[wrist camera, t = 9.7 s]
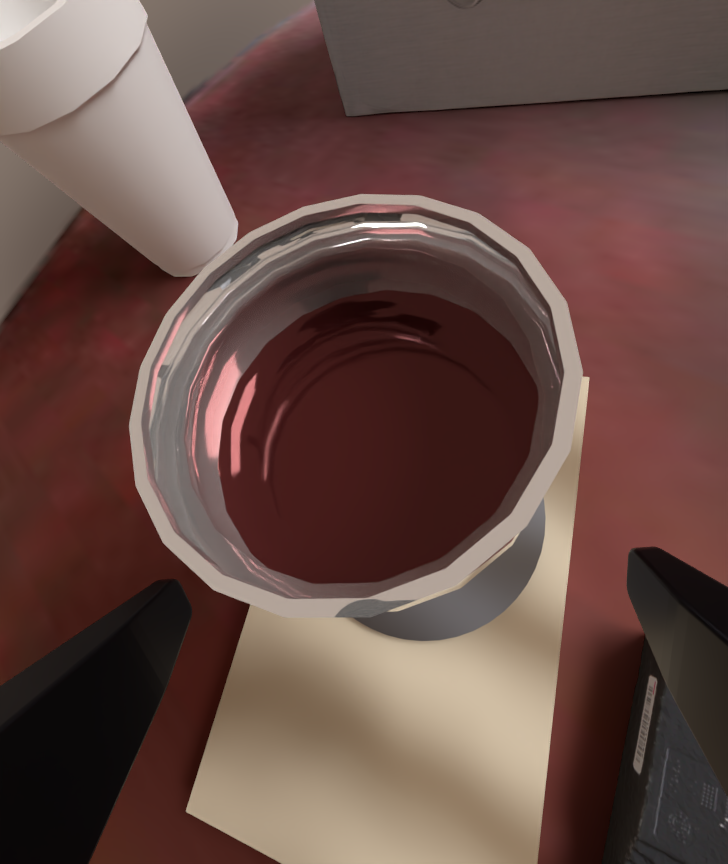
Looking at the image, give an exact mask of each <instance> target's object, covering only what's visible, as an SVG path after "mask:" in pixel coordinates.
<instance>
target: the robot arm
mask: <svg viewBox="0 0 728 864" xmlns="http://www.w3.org/2000/svg"><path fill="white" fill-rule="evenodd" d="M627 590H628V594H629V597H630V600H631V602H632V605H633V607H634V609H635V612H636V614H637V616H638V619H639V621H640V624H641V626H642V628H643V631H644V633H645V635H646V638H647V640H648V642H649V645H650V647H651V650H652V652H653V654H654V657H655V659H656V661H657V664H658V666H659V669H660V671H661V673H662V675H663V678H664V680H665V682H666V684H667V686H668V688H669V690H670V692H671V694H672V696H673V698H674V700H675V702H676V704H677V706H678V707H679V709H680V711H681V713H682V715H683V717H684V718H685V720H686V722H687V724H688V726H689V728H690V729H691V731H692V733H693V735H694V737H695V739H696V740H697V742H698V744H699V746H700V748H701V749H702V751H703V753H704V755H705V757H706V759H707V760H708V762H709V764H710V766H711V768H712V770H713V771H714V773H715V775H716V777H717V779H718V781H719V782H720V784H721V786H722V788H723V790H724V792H725V793H726V795H727V797H728V587H727V586H725V585H723V584H721V583H720V582H718V581H716V580H715V579H713V578H711V577H709V576H708V575H706V574H704V573H702V572H701V571H699V570H697V569H695V568H694V567H692V566H690V565H688V564H687V563H685V562H683V561H681V560H680V559H678V558H676V557H674V556H673V555H671V554H669V553H667V552H666V551H664V550H662V549H660V548H658V547H641V548H633V549H631V550H630V552H629V555H628V570H627ZM191 616H192V607H191V604H190V602H189V600H188V598H187V596H186V594H185V592H184V590H183V588H182V585H181V584H180V582H179V581H178V580H176V579H165V580H158V581H156V582H154V583H153V584H151V585H150V586H148V587H147V588H145V589H144V590H142V591H141V592H139V593H138V594H136V595H135V596H134V597H132V598H131V599H129V600H128V601H126V602H125V603H123V604H122V605H120V606H119V607H117V608H116V609H114V610H113V611H111V612H110V613H108V614H107V615H105V616H104V617H102V618H101V619H99V620H98V621H96V622H95V623H93V624H92V625H90V626H89V627H87V628H86V629H84V630H83V631H82V632H80V633H79V634H77V635H76V636H74V637H73V638H71V639H70V640H68V641H67V642H65V643H64V644H62V645H61V646H59V647H58V648H56V649H55V650H53V651H52V652H50V653H49V654H47V655H46V656H44V657H43V658H41V659H40V660H38V661H37V662H35V663H34V664H32V665H31V666H30V667H28V668H27V669H25V670H24V671H22V672H21V673H19V674H18V675H16V676H15V677H13V678H12V679H10V680H9V681H7V682H6V683H4V684H3V685H1V686H0V864H89V862H90V860H91V857H92V855H93V853H94V851H95V848H96V846H97V844H98V842H99V839H100V837H101V835H102V833H103V830H104V828H105V826H106V824H107V821H108V819H109V817H110V815H111V813H112V810H113V808H114V806H115V804H116V801H117V799H118V797H119V795H120V792H121V790H122V788H123V786H124V783H125V781H126V779H127V777H128V774H129V772H130V770H131V768H132V765H133V763H134V761H135V759H136V756H137V754H138V752H139V750H140V747H141V745H142V743H143V741H144V738H145V736H146V734H147V732H148V730H149V727H150V725H151V723H152V721H153V718H154V716H155V714H156V712H157V709H158V707H159V705H160V703H161V700H162V698H163V695H164V693H165V691H166V688H167V685H168V683H169V680H170V677H171V675H172V672H173V669H174V666H175V663H176V660H177V657H178V654H179V652H180V649H181V646H182V643H183V640H184V637H185V634H186V631H187V629H188V626H189V623H190V620H191Z"/></svg>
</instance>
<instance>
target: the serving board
mask: <svg viewBox="0 0 728 864" xmlns="http://www.w3.org/2000/svg"><path fill="white" fill-rule="evenodd" d="M588 386H589V377H582V382H581V388H580V394H579V400H578V407H577V413H576V419H575V426H574V432H573V438H572V445H571V451H570V452H569V454H568V456H567V458H566V459H565V461H564V463H563V465H562V466H561V468H560V470H559V471H558V473H557V475H556V477H555V478H554V480H553V482H552V484H551V485H550V487H549V489H548V490H547V492H546V494H545V496H544V497H543V499H542V501H541V503H540V504H539V506H538V508H537V509H536V511H535V513H534V515H533V516H532V518H531V520H530V522H529V523H528V525H527V527H525V528H524V529H523V530H522V531H521V532H520V533H519V535H518V537H517V538H516V540H515V542H514V543H513V545H512V546H511V547H509V548H508V549H507V550H506V551H505V552H504V553H502V554H501V555H500V556H499V557H498V558H496V559H495V560H494V561H493V562H492V563H490V564H489V565H488V566H487V567H486V568H484V569H483V570H482V571H481V572H480V573H478V574H477V575H476V576H475V577H474V578H472V579H471V580H470V581H469V582H468V583H467V584H465V585H464V586H463V587H462V588H460V589H457V590H455V591H452V592H449V593H447V594H444V595H441V596H438V597H436V598H433V599H430V600H428V601H425V602H422V603H420V604H417V605H414V606H411V607H409V608H406V609H403V610H401V611H395V612H384V613H381V614H378V615H376V616H373V617H360V618H285V617H282V616H279V615H277V614H274V613H272V612H269V611H266V610H264V609H261V608H259V607H256V606H253V605H251V604H250V607H249V611H248V614H247V617H246V620H245V623H244V627H243V630H242V633H241V636H240V639H239V643H238V646H237V649H236V652H235V655H234V658H233V662H232V665H231V668H230V671H229V674H228V678H227V681H226V684H225V687H224V690H223V694H222V697H221V700H220V703H219V706H218V710H217V713H216V716H215V719H214V722H213V726H212V729H211V732H210V735H209V738H208V742H207V745H206V748H205V751H204V754H203V758H202V761H201V764H200V767H199V770H198V774H197V777H196V780H195V783H194V786H193V790H192V793H191V796H190V799H189V802H188V805H187V809H186V812H187V813H189V814H191V815H193V816H195V817H197V818H198V819H200V820H202V821H204V822H206V823H208V824H209V825H211V826H213V827H215V828H217V829H219V830H221V831H222V832H224V833H226V834H228V835H230V836H232V837H234V838H235V839H237V840H239V841H241V842H243V843H245V844H247V845H248V846H250V847H252V848H254V849H256V850H258V851H260V852H261V853H263V854H265V855H267V856H269V857H271V858H272V859H274V860H276V861H278V862H280V863H282V864H537V860H538V850H539V841H540V832H541V823H542V813H543V804H544V795H545V785H546V776H547V767H548V758H549V748H550V739H551V730H552V720H553V711H554V702H555V693H556V683H557V674H558V665H559V655H560V646H561V637H562V628H563V618H564V609H565V600H566V590H567V581H568V572H569V563H570V553H571V544H572V535H573V525H574V516H575V507H576V498H577V488H578V479H579V470H580V460H581V451H582V442H583V433H584V423H585V414H586V405H587V396H588Z"/></svg>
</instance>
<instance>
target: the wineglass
mask: <svg viewBox="0 0 728 864" xmlns="http://www.w3.org/2000/svg"><path fill="white" fill-rule="evenodd" d="M582 375H583V370H582V366H581V361H580V357H579V353H578V348H577V344H576V340H575V335H574V331H573V327H572V322H571V318H570V314H569V309H568V305H567V302H566V300H565V299H564V298H563V296H562V295H561V293H560V292H559V290H558V289H557V288H556V286H555V285H554V283H553V282H552V280H551V279H550V277H549V276H548V275H547V273H546V272H545V270H544V269H543V267H542V266H541V265H540V263H539V262H538V260H537V259H536V257H535V256H534V255H533V253H532V252H531V250H530V249H529V248H528V247H526V246H525V245H523V244H522V243H521V242H519V241H518V240H516V239H515V238H513V237H512V236H511V235H509V234H508V233H506V232H505V231H503V230H502V229H500V228H499V227H498V226H496V225H495V224H493V223H492V222H490V221H489V220H487V219H486V218H485V217H483V216H482V215H480V214H479V213H476V212H473V211H470V210H466V209H463V208H460V207H457V206H453V205H450V204H447V203H443V202H440V201H437V200H434V199H430V198H427V197H424V196H420V195H377V194H359V195H355V196H350V197H346V198H341V199H337V200H332V201H328V202H323V203H319V204H314V205H310V206H305V207H302V208H300V209H298V210H296V211H294V212H291V213H289V214H287V215H285V216H283V217H281V218H279V219H277V220H275V221H273V222H270V223H268V224H266V225H264V226H262V227H260V228H258V229H256V230H254V231H252V232H250V233H248V234H247V235H246V236H244V237H243V238H242V239H241V240H239V241H238V242H237V243H235V244H234V245H233V246H232V247H230V248H229V249H228V250H226V251H225V252H224V253H223V254H221V255H220V256H219V257H217V258H216V259H215V260H214V261H212V262H211V263H210V264H208V265H207V266H206V267H205V268H203V270H202V271H201V272H200V273H199V274H198V276H197V277H196V278H195V279H194V280H193V282H192V283H191V284H190V285H189V287H188V288H187V289H186V290H185V291H184V293H183V294H182V295H181V296H180V297H179V299H178V300H177V301H176V302H175V304H174V305H173V306H172V307H171V308H170V310H169V311H168V312H167V313H166V315H165V317H164V319H163V321H162V323H161V325H160V327H159V329H158V331H157V333H156V336H155V338H154V340H153V342H152V344H151V346H150V348H149V350H148V352H147V354H146V356H145V358H144V360H143V362H142V364H141V366H140V371H139V376H138V381H137V387H136V392H135V397H134V402H133V407H132V412H131V418H130V423H129V430H130V439H131V448H132V457H133V466H134V476H135V485H136V488H137V490H138V492H139V494H140V496H141V498H142V500H143V502H144V504H145V506H146V508H147V511H148V513H149V515H150V517H151V519H152V521H153V523H154V525H155V527H156V529H157V531H158V533H159V535H160V538H161V540H162V542H163V544H165V545H166V546H167V547H168V548H169V549H170V550H171V551H172V552H173V553H174V554H175V555H176V556H177V557H179V558H180V559H181V560H182V561H183V562H184V563H185V564H186V565H187V566H188V567H189V568H190V569H191V570H192V571H194V572H195V573H196V574H197V575H198V576H199V577H200V578H201V579H202V580H203V581H204V582H205V583H206V584H208V585H209V586H210V587H211V588H212V589H213V590H214V591H217V592H220V593H222V594H225V595H227V596H230V597H233V598H235V599H238V600H240V601H243V602H246V603H248V604H251V605H253V606H256V607H259V608H261V609H264V610H266V611H269V612H272V613H274V614H277V615H279V616H282V617H285V618H360V617H373V616H376V615H378V614H381V613H384V612H395V611H401V610H403V609H406V608H409V607H411V606H414V605H417V604H420V603H422V602H425V601H428V600H430V599H433V598H436V597H438V596H441V595H444V594H447V593H449V592H452V591H455V590H457V589H460V588H462V587H463V586H464V585H465V584H467V583H468V582H469V581H470V580H471V579H472V578H474V577H475V576H476V575H477V574H478V573H480V572H481V571H482V570H483V569H484V568H486V567H487V566H488V565H489V564H490V563H492V562H493V561H494V560H495V559H496V558H498V557H499V556H500V555H501V554H502V553H504V552H505V551H506V550H507V549H508V548H509V547H511V546H512V545H513V543H514V542H515V540H516V538H517V537H518V535H519V533H520V532H521V531H522V530H523V529H524V528H525V527H527V525H528V523H529V522H530V520H531V518H532V516H533V515H534V513H535V511H536V509H537V508H538V506H539V504H540V503H541V501H542V499H543V497H544V496H545V494H546V492H547V490H548V489H549V487H550V485H551V484H552V482H553V480H554V478H555V477H556V475H557V473H558V471H559V470H560V468H561V466H562V465H563V463H564V461H565V459H566V458H567V456H568V454H569V452H570V451H571V445H572V438H573V432H574V426H575V419H576V413H577V407H578V400H579V394H580V388H581V382H582Z"/></svg>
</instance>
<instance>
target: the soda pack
mask: <svg viewBox="0 0 728 864" xmlns="http://www.w3.org/2000/svg"><path fill="white" fill-rule="evenodd" d="M314 1H315V5H316V9H317V12H318V16H319V20H320V23H321V27H322V31H323V34H324V38H325V42H326V45H327V49H328V52H329V56H330V59H331V63H332V66H333V70H334V74H335V78H336V82H337V85H338V89H339V93H340V96H341V100H342V103H343V106H344V110H345V114H346V116H361V115H370V114H379V113H389V112H408V111H427V110H443V109H457V108H471V107H485V106H501V105H516V104H532V103H547V102H560V101H573V100H587V99H601V98H615V97H629V96H642V95H655V94H668V93H681V92H694V91H709V90H724V89H728V0H314Z"/></svg>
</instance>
